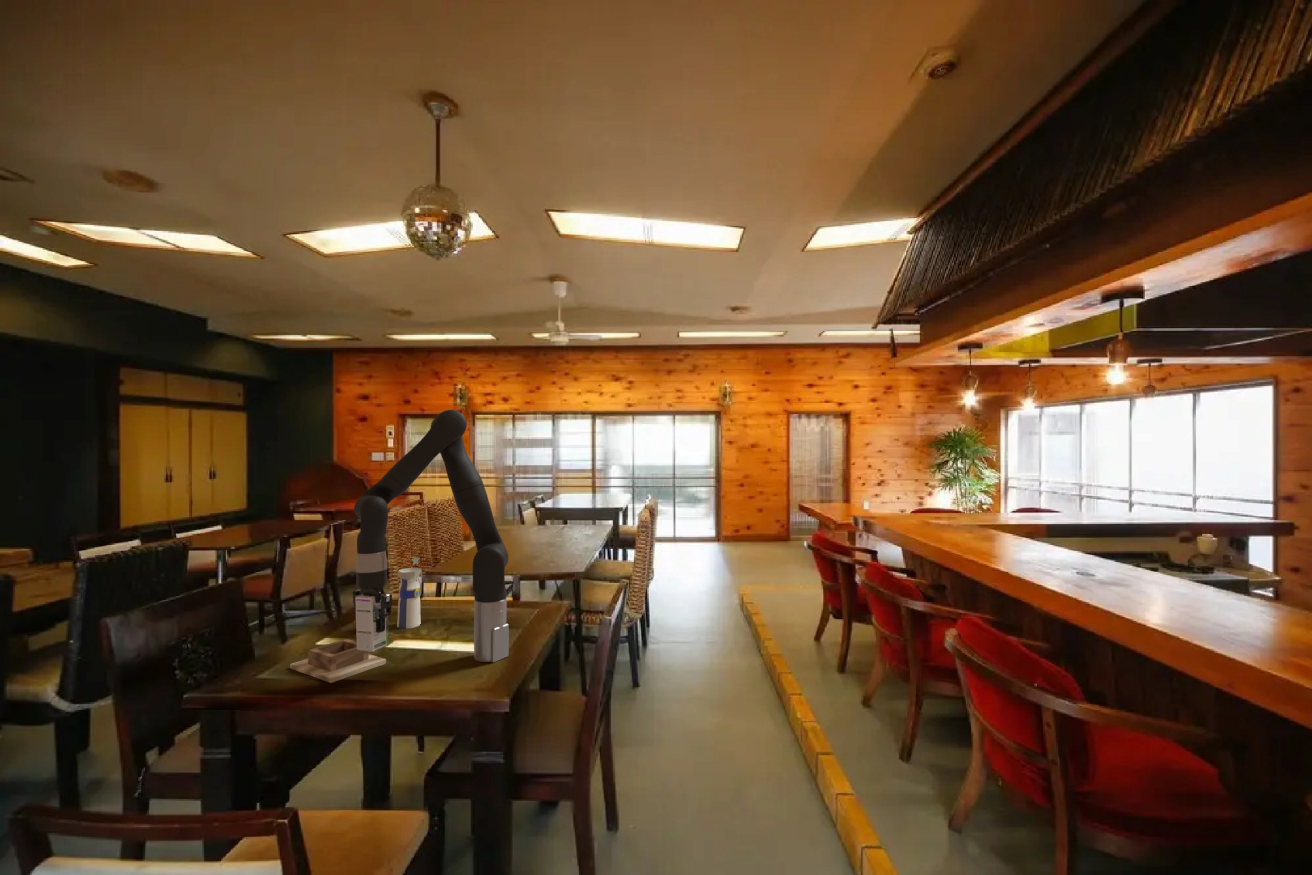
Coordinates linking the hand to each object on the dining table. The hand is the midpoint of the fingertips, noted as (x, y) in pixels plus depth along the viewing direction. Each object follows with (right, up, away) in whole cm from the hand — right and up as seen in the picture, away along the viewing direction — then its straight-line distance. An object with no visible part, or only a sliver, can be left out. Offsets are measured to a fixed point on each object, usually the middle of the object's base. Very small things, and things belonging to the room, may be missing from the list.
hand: (372, 630), depth 155 cm
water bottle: (-10, -14, +46) cm, 49 cm away
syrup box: (0, -5, 0) cm, 5 cm away
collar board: (-14, -13, +8) cm, 20 cm away
